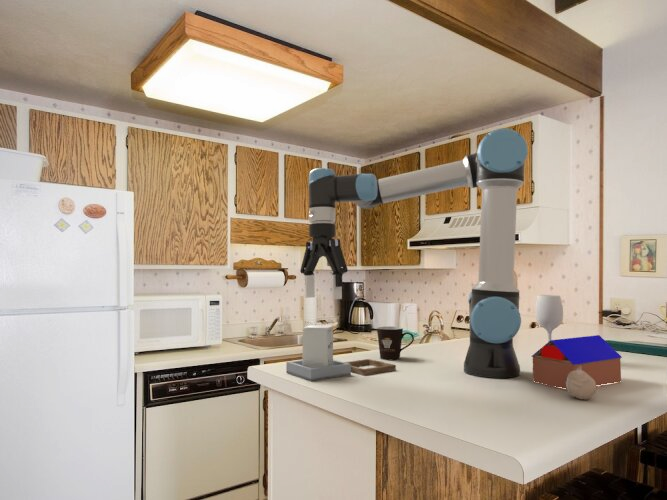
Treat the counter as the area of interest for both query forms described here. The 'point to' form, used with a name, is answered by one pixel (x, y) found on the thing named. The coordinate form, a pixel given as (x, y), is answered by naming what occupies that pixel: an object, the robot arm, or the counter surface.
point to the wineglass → (549, 312)
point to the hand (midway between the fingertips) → (322, 298)
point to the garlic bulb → (580, 384)
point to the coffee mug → (391, 342)
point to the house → (576, 361)
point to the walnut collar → (378, 369)
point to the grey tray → (318, 370)
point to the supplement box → (317, 346)
